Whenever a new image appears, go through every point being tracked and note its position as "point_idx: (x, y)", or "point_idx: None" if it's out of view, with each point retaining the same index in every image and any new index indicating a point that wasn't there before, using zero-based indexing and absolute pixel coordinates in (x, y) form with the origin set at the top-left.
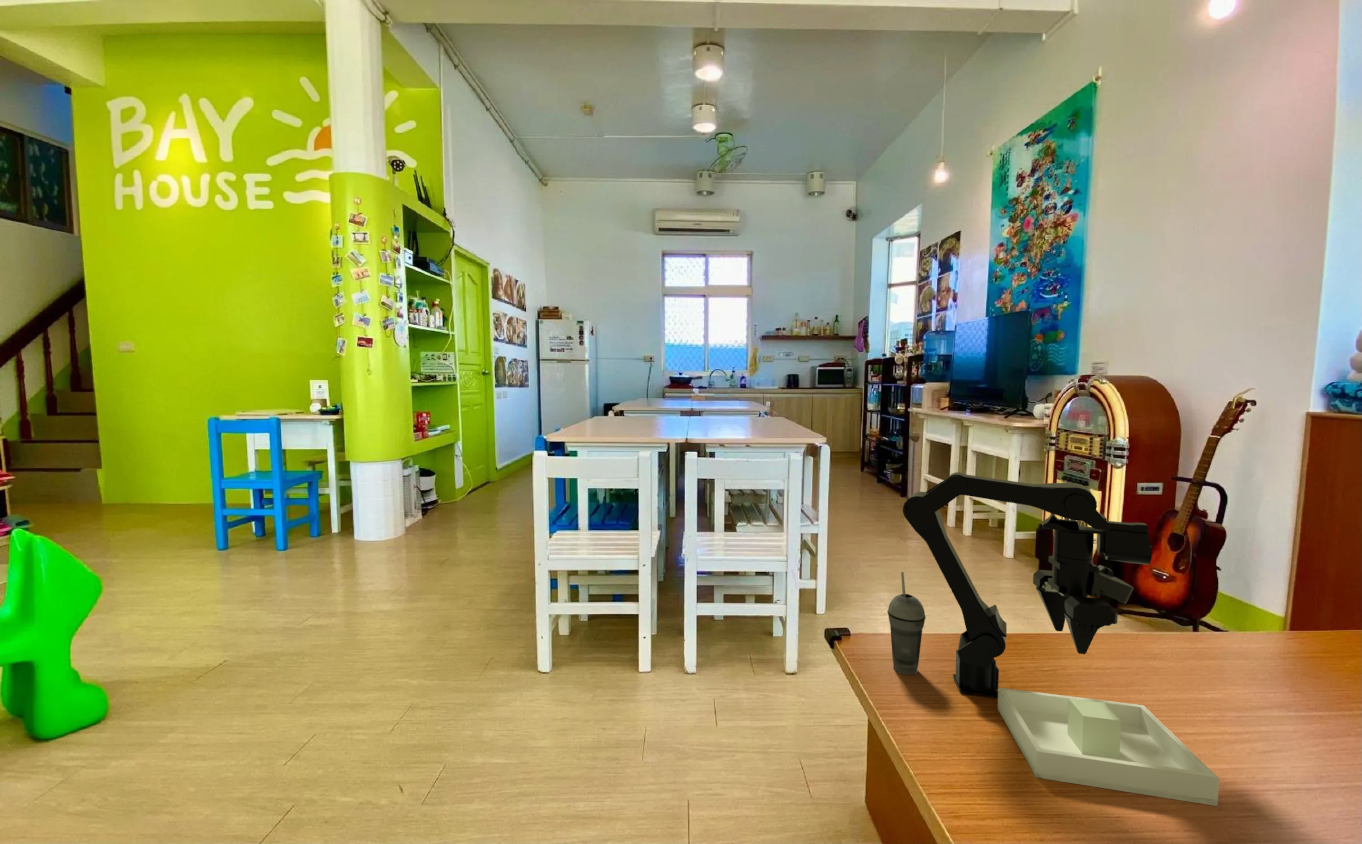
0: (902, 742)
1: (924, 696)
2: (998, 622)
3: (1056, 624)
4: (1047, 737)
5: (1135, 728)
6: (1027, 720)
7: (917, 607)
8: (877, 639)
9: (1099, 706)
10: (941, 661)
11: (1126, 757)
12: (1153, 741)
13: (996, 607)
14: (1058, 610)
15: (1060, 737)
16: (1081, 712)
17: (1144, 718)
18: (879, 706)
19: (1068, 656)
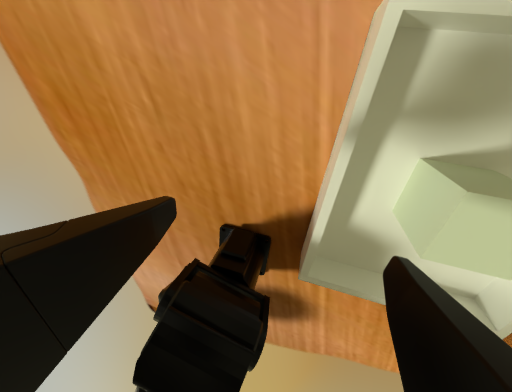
0: (368, 363)
1: (275, 307)
2: (223, 387)
3: (159, 233)
4: (396, 245)
5: (396, 48)
6: (345, 244)
7: None
8: (149, 287)
9: (484, 218)
10: (180, 250)
11: (495, 152)
12: (460, 36)
13: (144, 380)
14: (90, 274)
15: (400, 227)
16: (493, 274)
17: (419, 17)
18: (300, 348)
19: (67, 6)
